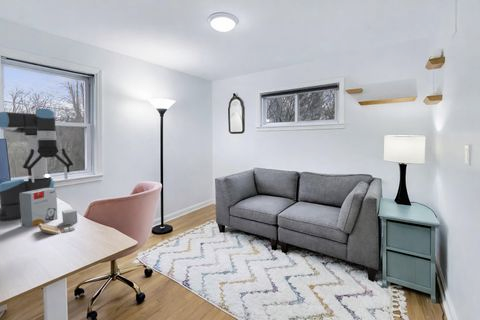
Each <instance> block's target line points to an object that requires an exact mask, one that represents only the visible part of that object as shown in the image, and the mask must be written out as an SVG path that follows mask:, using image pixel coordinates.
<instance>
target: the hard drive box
mask: <svg viewBox="0 0 480 320" xmlns="http://www.w3.org/2000/svg"><path fill="white" fill-rule="evenodd" d="M19 197H20V211H21V218H20V223H21V227H27V228H34V227H36V226H38V224H39V223H41V224H46V223H48V222H51V221H55V220H58V219H59V218H58V200H57V199H58V198H57V188H55V187H54V188H43V189H38V190H33V191H27V192H22V193H19Z"/></svg>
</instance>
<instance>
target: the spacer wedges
mask: <svg viewBox="0 0 480 320" xmlns="http://www.w3.org/2000/svg"><path fill="white" fill-rule="evenodd" d="M71 226H72V227H70V231H69V228H68V227H67V228H64V231H65V232H64V233H67V231H68V232H71V230H72V231H76V228H75V226H74V225H71Z"/></svg>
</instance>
